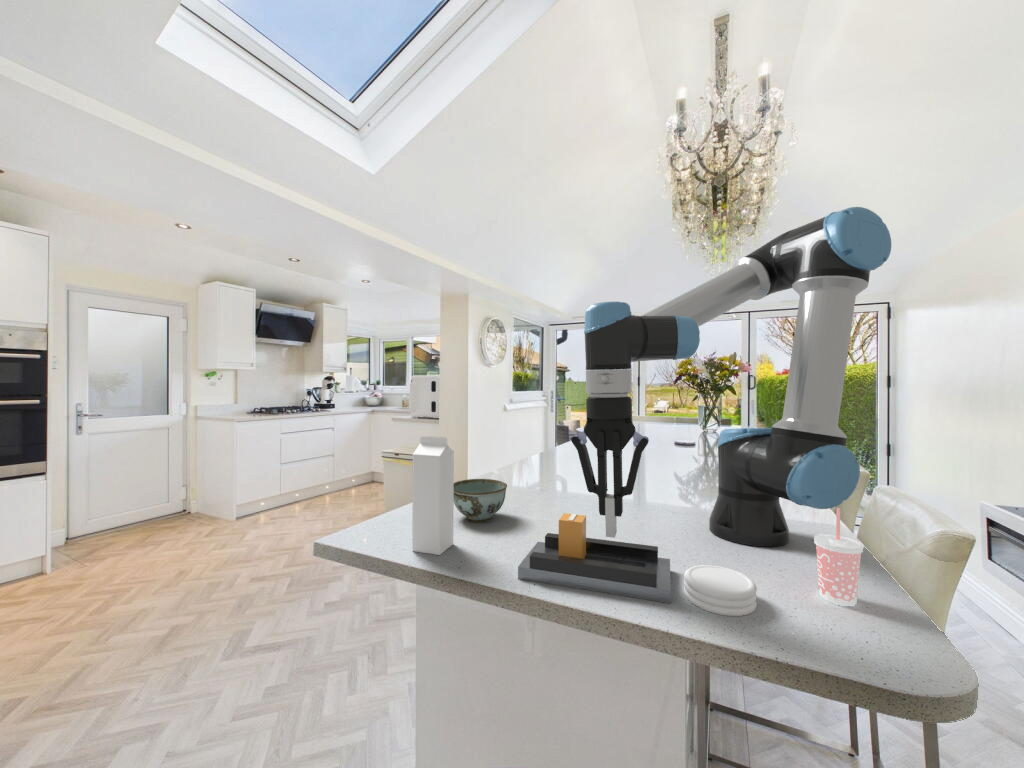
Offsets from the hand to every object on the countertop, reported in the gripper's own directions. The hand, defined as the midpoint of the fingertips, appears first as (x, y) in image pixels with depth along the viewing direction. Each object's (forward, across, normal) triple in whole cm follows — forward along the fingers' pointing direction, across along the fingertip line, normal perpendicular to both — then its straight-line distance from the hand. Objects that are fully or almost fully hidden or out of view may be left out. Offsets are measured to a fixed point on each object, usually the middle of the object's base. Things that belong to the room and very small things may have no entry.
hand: (611, 534), depth 74 cm
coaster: (+8, +16, -2) cm, 18 cm away
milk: (+7, -35, +1) cm, 35 cm away
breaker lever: (+5, -7, 0) cm, 8 cm away
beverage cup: (+8, +33, +4) cm, 34 cm away
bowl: (+7, -34, +21) cm, 40 cm away
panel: (+7, -3, 0) cm, 8 cm away
